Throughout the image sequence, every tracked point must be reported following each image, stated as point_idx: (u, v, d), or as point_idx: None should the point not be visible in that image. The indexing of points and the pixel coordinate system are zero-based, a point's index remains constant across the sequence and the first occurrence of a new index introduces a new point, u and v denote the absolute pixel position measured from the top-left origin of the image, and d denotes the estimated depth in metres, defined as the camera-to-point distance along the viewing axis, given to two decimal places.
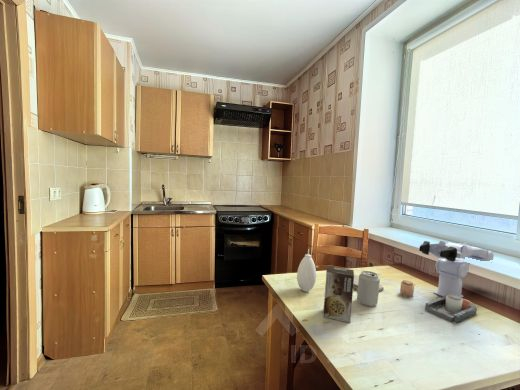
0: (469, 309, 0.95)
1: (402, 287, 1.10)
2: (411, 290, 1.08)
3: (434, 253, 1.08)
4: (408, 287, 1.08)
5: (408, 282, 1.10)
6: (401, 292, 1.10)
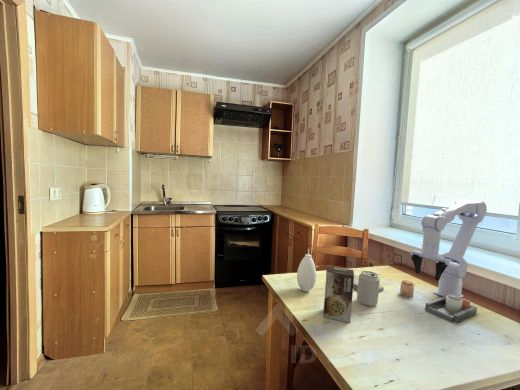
0: (469, 309, 0.95)
1: (402, 287, 1.10)
2: (411, 290, 1.08)
3: None
4: (408, 287, 1.08)
5: (408, 282, 1.10)
6: (401, 292, 1.10)
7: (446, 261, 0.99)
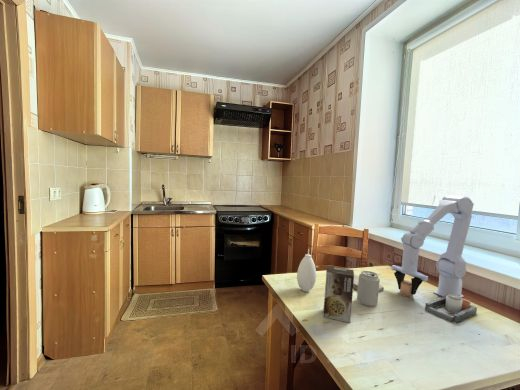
0: (469, 309, 0.95)
1: (402, 287, 1.10)
2: None
3: None
4: (408, 287, 1.08)
5: (408, 282, 1.10)
6: (401, 292, 1.10)
7: (423, 278, 1.04)
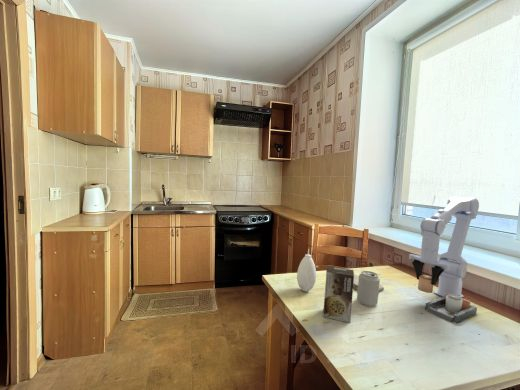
0: (469, 309, 0.95)
1: (421, 282, 1.02)
2: (431, 285, 1.00)
3: None
4: (427, 282, 1.00)
5: (427, 276, 1.02)
6: (419, 287, 1.02)
7: (445, 266, 0.96)
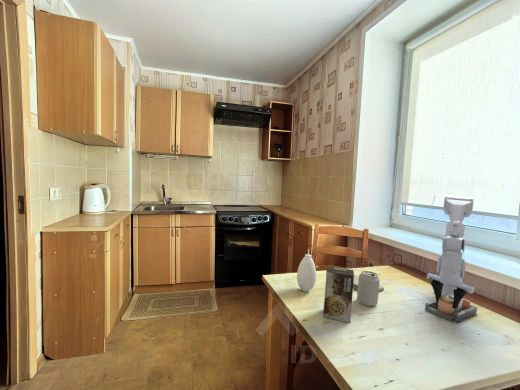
0: (469, 309, 0.95)
1: (441, 306, 0.94)
2: (452, 309, 0.93)
3: None
4: (449, 306, 0.93)
5: (448, 299, 0.95)
6: (440, 311, 0.95)
7: (469, 289, 0.88)
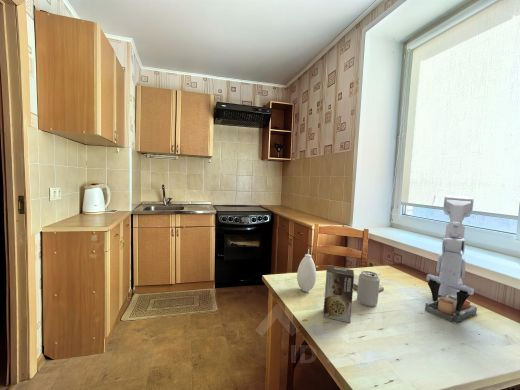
0: (469, 309, 0.95)
1: (441, 305, 0.94)
2: (452, 309, 0.93)
3: None
4: (449, 306, 0.93)
5: (448, 299, 0.95)
6: (440, 311, 0.95)
7: (469, 290, 0.88)
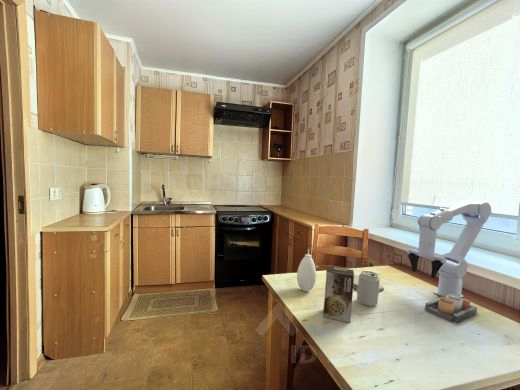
0: (469, 309, 0.95)
1: (441, 305, 0.94)
2: (452, 309, 0.93)
3: None
4: (449, 306, 0.93)
5: (448, 299, 0.95)
6: (440, 311, 0.95)
7: (442, 259, 1.02)
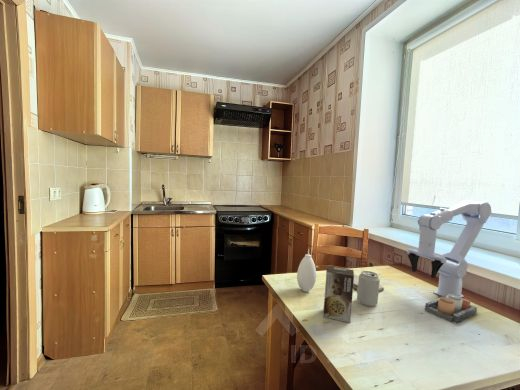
0: (469, 309, 0.95)
1: (441, 305, 0.94)
2: (452, 309, 0.93)
3: None
4: (449, 306, 0.93)
5: (448, 299, 0.95)
6: (440, 311, 0.95)
7: (442, 259, 1.02)
